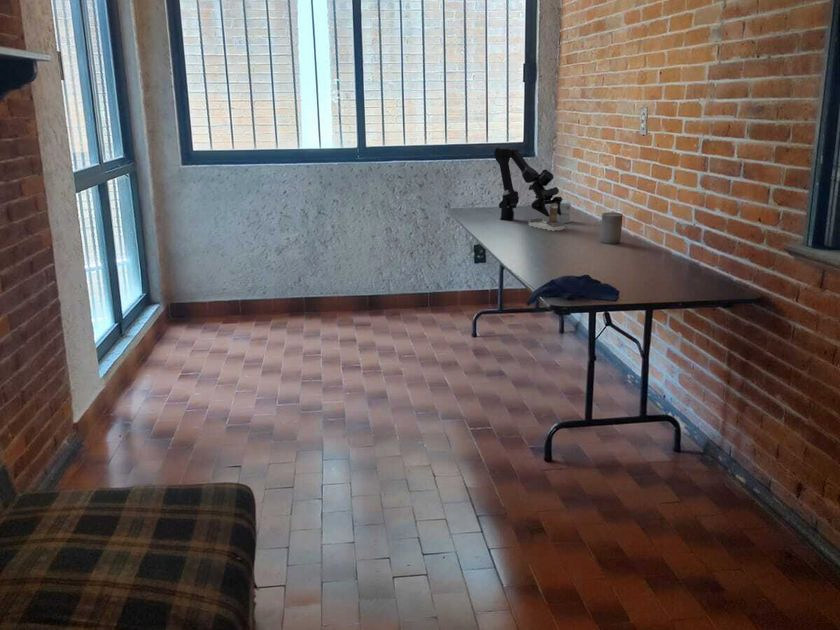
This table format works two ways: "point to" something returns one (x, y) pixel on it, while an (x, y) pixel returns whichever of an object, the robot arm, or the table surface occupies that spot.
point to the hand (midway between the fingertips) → (554, 215)
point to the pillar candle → (611, 228)
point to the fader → (553, 214)
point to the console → (542, 224)
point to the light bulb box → (564, 212)
